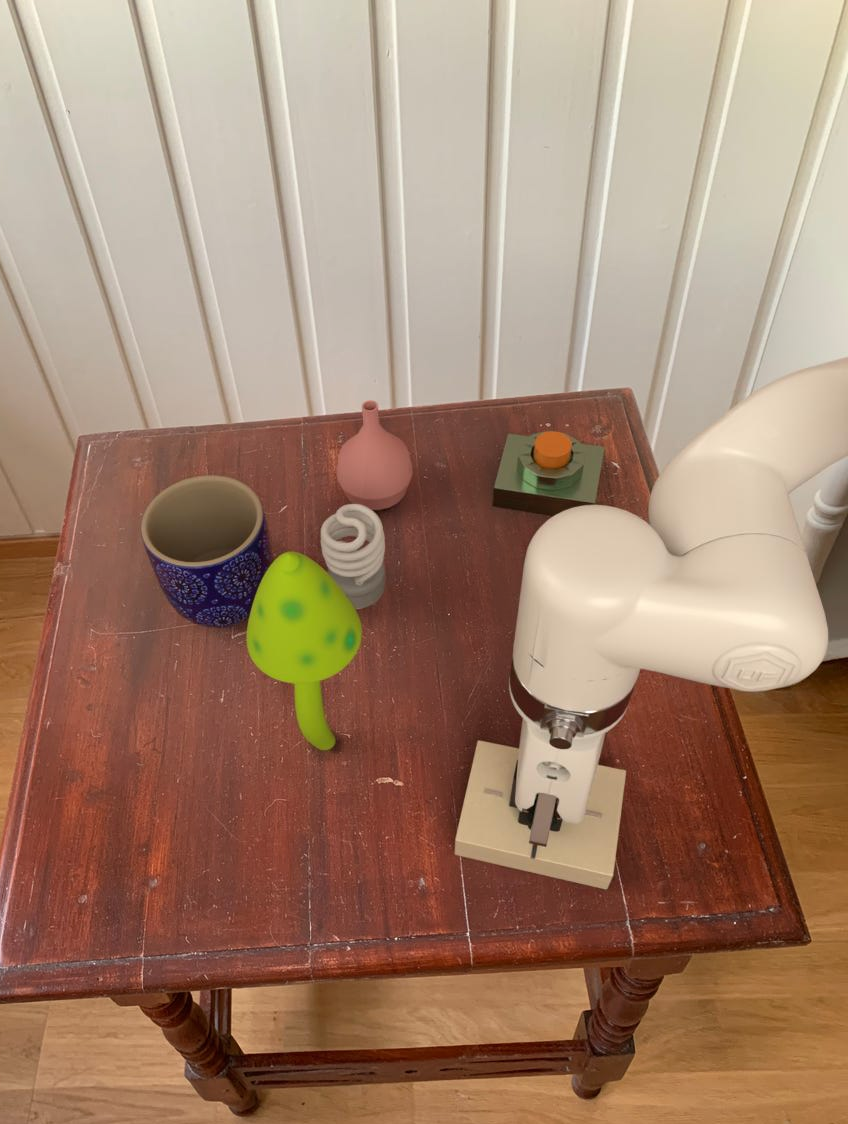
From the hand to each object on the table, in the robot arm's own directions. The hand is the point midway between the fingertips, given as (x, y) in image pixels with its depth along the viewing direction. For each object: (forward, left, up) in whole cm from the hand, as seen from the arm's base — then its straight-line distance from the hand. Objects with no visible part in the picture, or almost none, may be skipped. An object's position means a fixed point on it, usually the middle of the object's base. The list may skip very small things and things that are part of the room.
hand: (542, 801), depth 73 cm
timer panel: (0, 0, -4) cm, 4 cm away
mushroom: (+19, -3, -4) cm, 20 cm away
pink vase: (+22, -32, -4) cm, 39 cm away
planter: (+33, -16, -4) cm, 37 cm away
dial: (0, 0, 0) cm, 0 cm away
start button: (+5, -37, +1) cm, 37 cm away
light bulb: (+20, -18, -4) cm, 27 cm away
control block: (+5, -37, -4) cm, 38 cm away
